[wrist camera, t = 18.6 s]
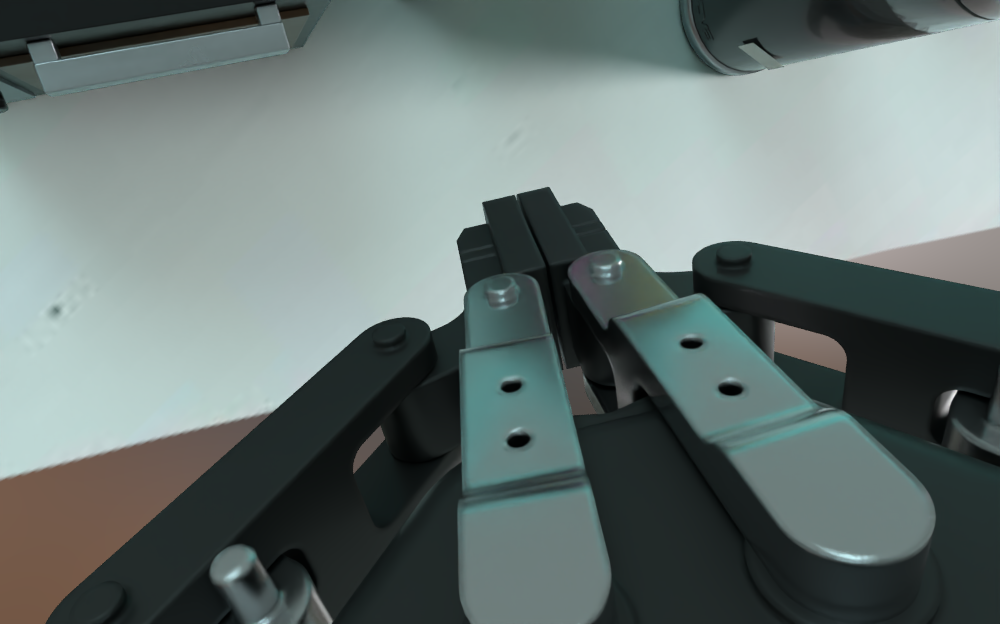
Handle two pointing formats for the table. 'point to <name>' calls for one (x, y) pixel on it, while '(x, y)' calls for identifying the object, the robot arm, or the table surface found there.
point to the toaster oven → (138, 40)
